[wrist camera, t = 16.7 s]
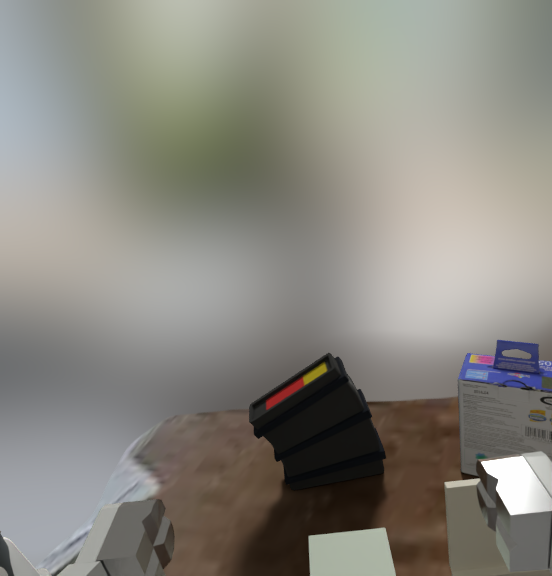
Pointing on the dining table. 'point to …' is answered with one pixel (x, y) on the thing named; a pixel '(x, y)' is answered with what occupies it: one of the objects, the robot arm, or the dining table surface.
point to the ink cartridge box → (504, 405)
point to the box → (351, 554)
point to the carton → (473, 535)
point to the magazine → (319, 427)
